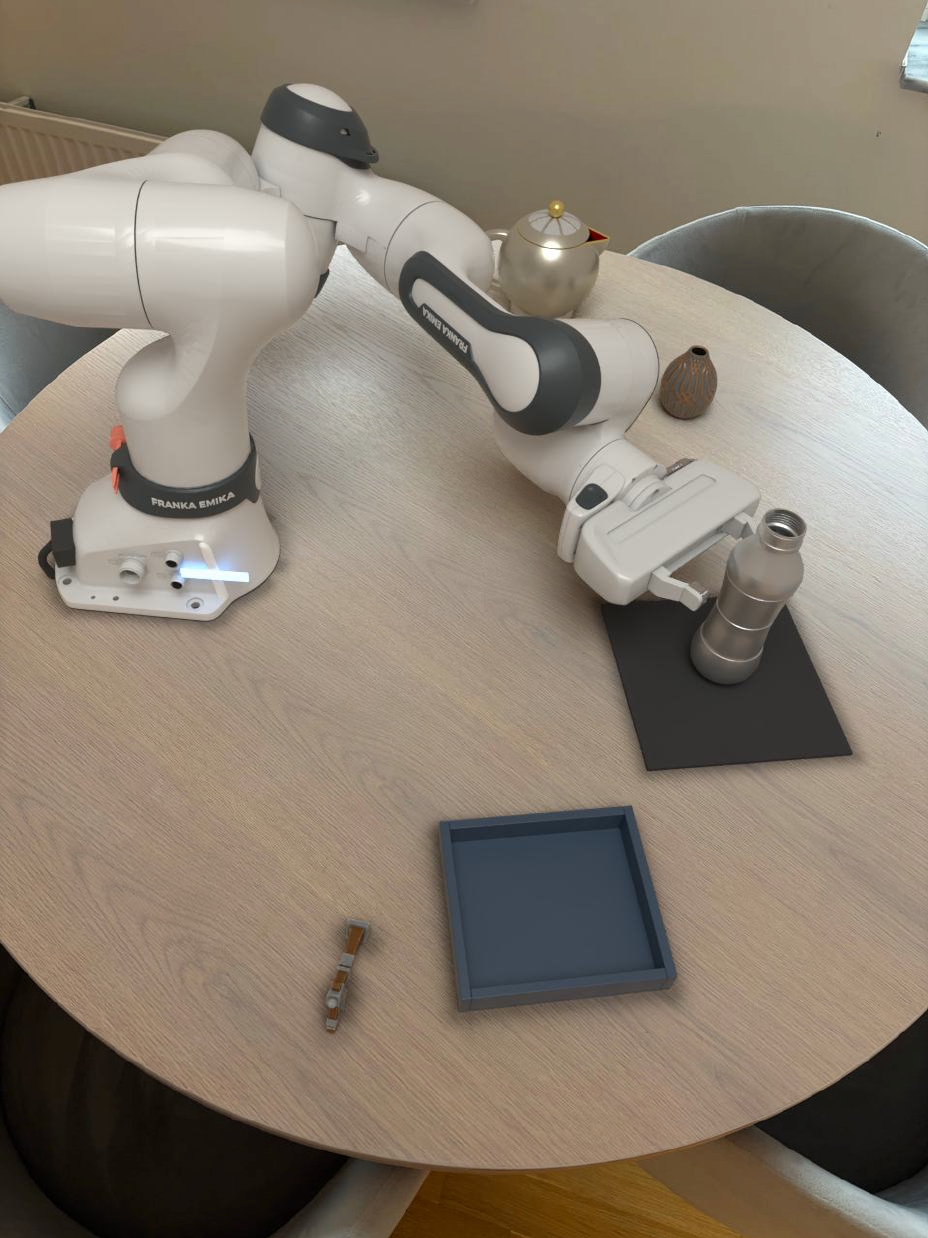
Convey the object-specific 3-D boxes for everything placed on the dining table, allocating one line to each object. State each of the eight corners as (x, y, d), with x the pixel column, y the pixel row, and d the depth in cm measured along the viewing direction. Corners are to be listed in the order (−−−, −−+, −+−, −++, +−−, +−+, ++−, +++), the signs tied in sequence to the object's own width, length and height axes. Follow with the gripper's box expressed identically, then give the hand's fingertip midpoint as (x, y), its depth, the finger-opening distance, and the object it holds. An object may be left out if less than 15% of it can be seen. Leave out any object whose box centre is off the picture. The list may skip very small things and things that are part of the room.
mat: (647, 771, 87) (648, 769, 86) (599, 605, 99) (600, 602, 99) (851, 755, 89) (853, 753, 89) (780, 595, 102) (781, 593, 102)
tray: (458, 1012, 72) (461, 1000, 70) (437, 836, 81) (439, 821, 79) (669, 989, 74) (678, 976, 72) (625, 820, 83) (631, 805, 81)
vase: (707, 430, 119) (727, 372, 112) (652, 420, 120) (669, 361, 113) (709, 397, 124) (728, 339, 117) (656, 388, 124) (672, 329, 117)
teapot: (596, 297, 137) (618, 185, 125) (589, 350, 129) (612, 236, 116) (474, 278, 138) (483, 165, 126) (459, 330, 129) (467, 214, 117)
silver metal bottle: (699, 630, 97) (759, 485, 82) (761, 660, 95) (835, 517, 80) (674, 672, 94) (733, 528, 78) (739, 704, 92) (811, 563, 76)
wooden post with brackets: (314, 1040, 69) (319, 996, 67) (342, 958, 76) (348, 916, 74) (338, 1045, 69) (344, 1001, 67) (364, 963, 76) (370, 921, 74)
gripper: (684, 476, 99) (792, 553, 92) (544, 562, 89) (654, 654, 83) (700, 428, 94) (815, 505, 88) (554, 513, 84) (671, 607, 78)
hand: (736, 578), depth 85 cm, fingers open, 8 cm apart
